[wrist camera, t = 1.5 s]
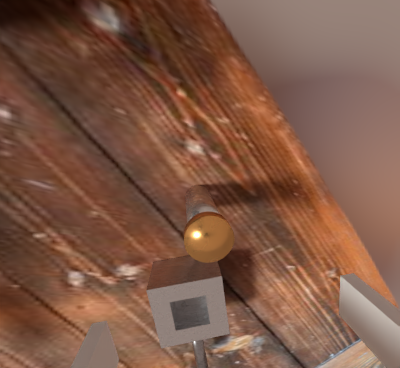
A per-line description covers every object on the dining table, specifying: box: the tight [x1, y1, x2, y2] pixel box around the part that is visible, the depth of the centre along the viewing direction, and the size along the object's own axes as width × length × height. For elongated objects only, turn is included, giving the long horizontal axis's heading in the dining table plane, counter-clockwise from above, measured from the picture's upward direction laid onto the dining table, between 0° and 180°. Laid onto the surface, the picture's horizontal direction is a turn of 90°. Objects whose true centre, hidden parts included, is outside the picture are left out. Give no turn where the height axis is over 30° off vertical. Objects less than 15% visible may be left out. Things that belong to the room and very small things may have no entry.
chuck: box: [147, 255, 230, 368], centre depth 34 cm, size 21×11×6 cm, turn 8°
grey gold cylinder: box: [184, 185, 234, 263], centre depth 25 cm, size 5×5×14 cm
